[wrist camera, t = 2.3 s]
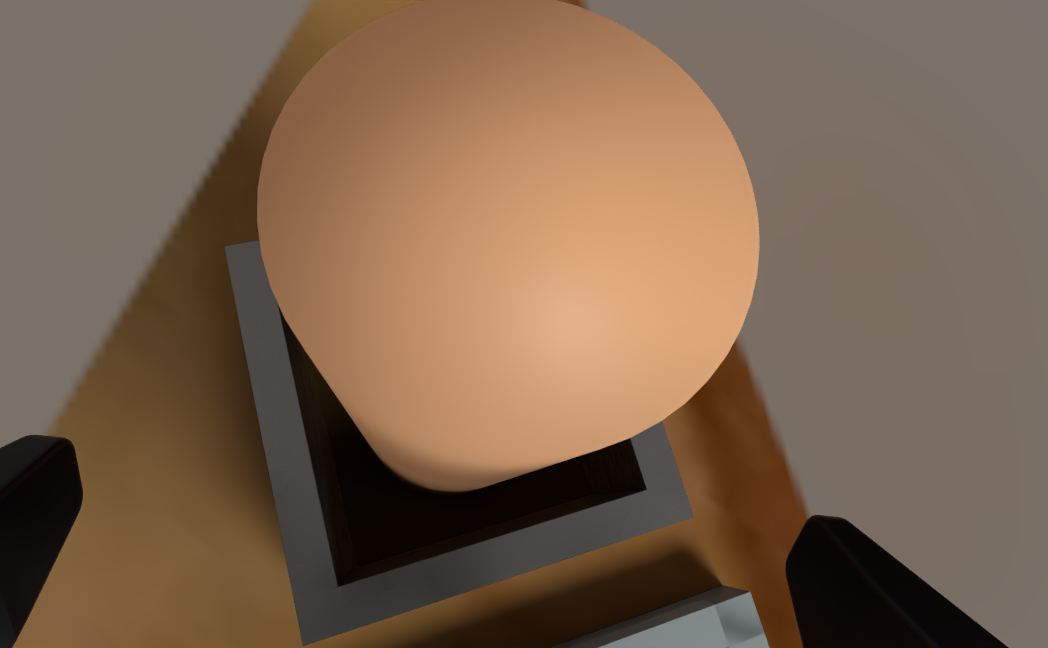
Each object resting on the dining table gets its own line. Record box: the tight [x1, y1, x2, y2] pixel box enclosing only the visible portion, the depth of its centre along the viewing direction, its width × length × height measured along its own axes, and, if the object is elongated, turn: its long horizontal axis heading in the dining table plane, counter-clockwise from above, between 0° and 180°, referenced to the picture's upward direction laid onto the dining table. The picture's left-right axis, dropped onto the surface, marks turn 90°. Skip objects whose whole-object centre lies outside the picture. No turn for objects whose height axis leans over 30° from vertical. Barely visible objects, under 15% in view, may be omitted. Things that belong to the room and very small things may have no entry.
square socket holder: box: [224, 240, 694, 646], centre depth 16 cm, size 8×8×4 cm
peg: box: [257, 0, 760, 495], centre depth 12 cm, size 4×4×13 cm
